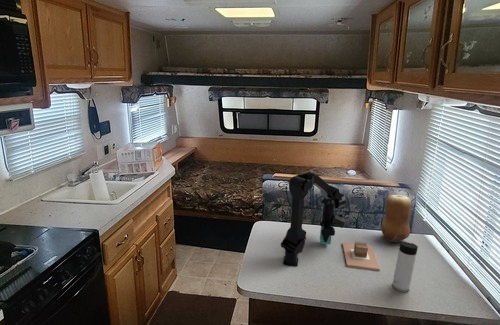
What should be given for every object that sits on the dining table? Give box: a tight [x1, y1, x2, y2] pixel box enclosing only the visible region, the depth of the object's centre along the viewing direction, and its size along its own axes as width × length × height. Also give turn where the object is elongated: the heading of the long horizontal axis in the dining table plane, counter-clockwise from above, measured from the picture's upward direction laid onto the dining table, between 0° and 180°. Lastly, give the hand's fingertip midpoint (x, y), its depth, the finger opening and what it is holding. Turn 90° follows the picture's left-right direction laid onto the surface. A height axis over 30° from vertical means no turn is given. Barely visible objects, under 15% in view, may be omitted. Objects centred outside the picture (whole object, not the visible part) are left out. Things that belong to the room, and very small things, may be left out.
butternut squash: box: [381, 194, 412, 243], centre depth 162 cm, size 14×13×25 cm
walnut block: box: [354, 241, 368, 258], centre depth 149 cm, size 5×5×5 cm
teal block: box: [319, 230, 332, 245], centre depth 158 cm, size 5×5×5 cm
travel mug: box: [391, 241, 419, 293], centre depth 126 cm, size 6×7×20 cm
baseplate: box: [341, 241, 381, 271], centre depth 150 cm, size 20×14×1 cm
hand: (325, 239), depth 158 cm, fingers closed on teal block, 5 cm apart
